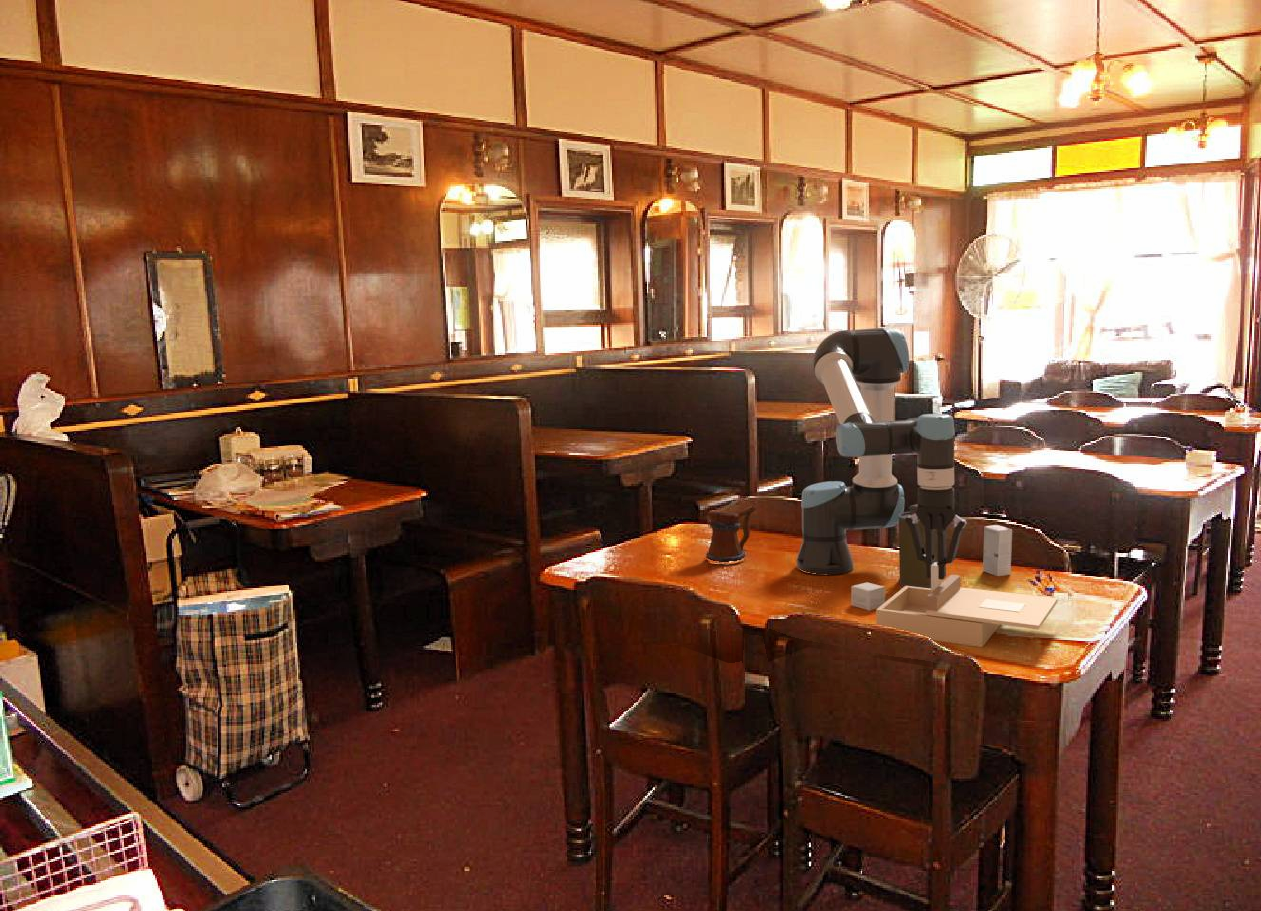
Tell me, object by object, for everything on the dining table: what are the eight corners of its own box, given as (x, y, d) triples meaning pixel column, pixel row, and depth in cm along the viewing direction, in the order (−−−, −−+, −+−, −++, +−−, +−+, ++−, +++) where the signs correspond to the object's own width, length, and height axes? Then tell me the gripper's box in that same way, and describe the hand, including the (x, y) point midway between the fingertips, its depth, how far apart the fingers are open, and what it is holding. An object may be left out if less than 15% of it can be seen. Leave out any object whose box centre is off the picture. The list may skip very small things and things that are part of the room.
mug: (741, 549, 280) (739, 500, 278) (769, 555, 271) (768, 505, 269) (697, 561, 269) (695, 510, 267) (725, 568, 260) (723, 515, 258)
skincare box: (982, 571, 244) (982, 526, 242) (996, 569, 245) (996, 524, 243) (997, 577, 238) (998, 530, 236) (1012, 574, 239) (1012, 528, 238)
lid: (925, 614, 195) (925, 597, 194) (952, 589, 211) (952, 573, 211) (1038, 629, 183) (1038, 610, 182) (1057, 601, 199) (1057, 584, 198)
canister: (919, 590, 230) (918, 511, 227) (889, 581, 239) (888, 504, 236) (951, 583, 235) (951, 505, 232) (921, 574, 244) (920, 499, 241)
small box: (885, 606, 219) (885, 586, 219) (869, 611, 216) (868, 590, 215) (867, 601, 224) (867, 581, 223) (850, 605, 221) (850, 585, 220)
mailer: (876, 631, 202) (876, 609, 201) (905, 606, 218) (905, 585, 217) (982, 647, 189) (982, 623, 189) (1004, 619, 206) (1004, 597, 205)
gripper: (900, 487, 201) (901, 593, 204) (962, 491, 193) (962, 601, 196) (911, 482, 207) (911, 585, 210) (971, 485, 199) (971, 592, 203)
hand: (936, 592), depth 203 cm, fingers closed
